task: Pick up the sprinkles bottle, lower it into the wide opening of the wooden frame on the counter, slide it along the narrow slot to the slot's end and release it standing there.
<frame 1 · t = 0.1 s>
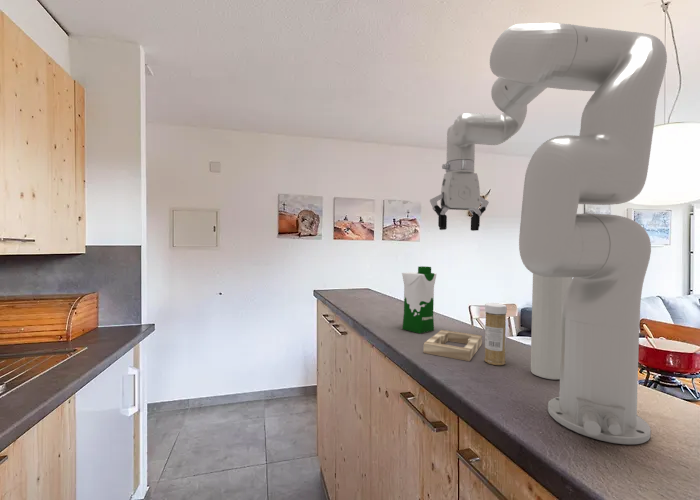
hand: (458, 230, 95), 31 cm above the countertop, tool pointing down, fingers open, 9 cm apart
sprinkles bottle: (494, 363, 78), on the countertop
wooden frame: (454, 348, 88), on the countertop
paper towel roll: (550, 376, 70), on the countertop
milk carton: (417, 330, 107), on the countertop
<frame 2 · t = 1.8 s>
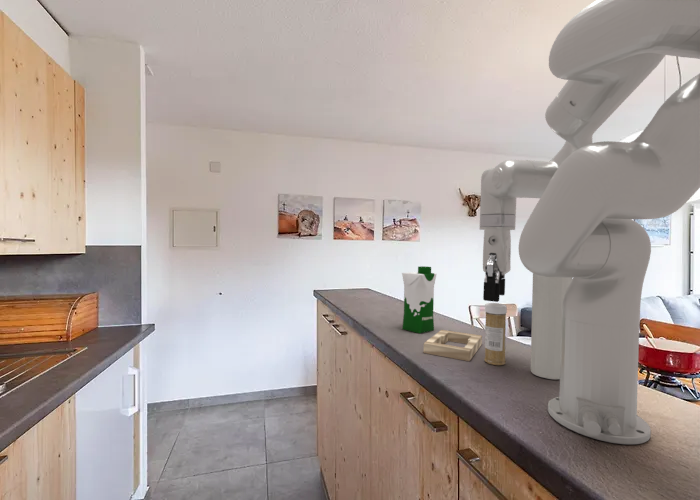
hand: (494, 297, 78), 15 cm above the countertop, tool pointing down, fingers open, 9 cm apart
nothing on the countertop moved.
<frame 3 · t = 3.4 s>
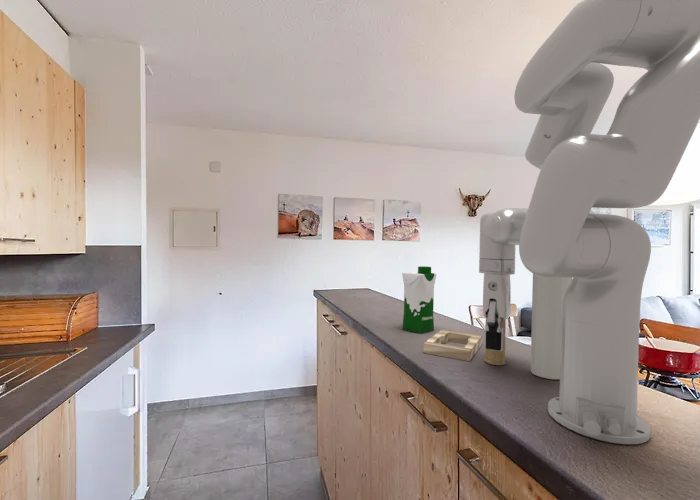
hand: (494, 345, 77), 4 cm above the countertop, tool pointing down, fingers closed on sprinkles bottle, 4 cm apart
sprinkles bottle: (494, 363, 78), on the countertop, touching gripper
everything else where it was.
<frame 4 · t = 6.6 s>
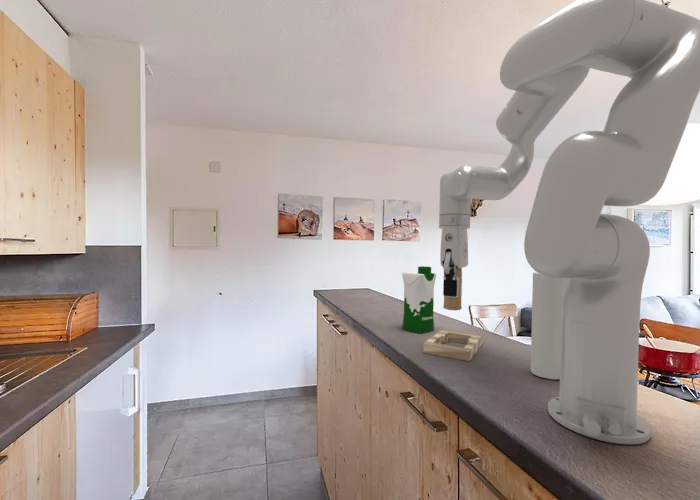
hand: (452, 293, 86), 14 cm above the countertop, tool pointing down, fingers closed on sprinkles bottle, 4 cm apart
sprinkles bottle: (452, 309, 86), point 10 cm above the countertop, touching gripper
everything else where it was.
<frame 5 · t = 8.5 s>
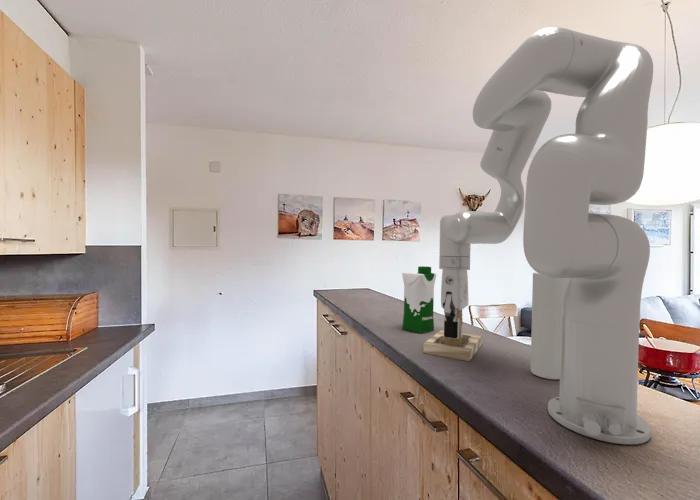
hand: (453, 334, 86), 4 cm above the countertop, tool pointing down, fingers closed on sprinkles bottle, 4 cm apart
sprinkles bottle: (452, 350, 86), resting in wooden frame, touching gripper
everything else where it was.
when the fingers open (4 cm above the countertop, at t = 9.7 s): sprinkles bottle stays where it is, resting in wooden frame.
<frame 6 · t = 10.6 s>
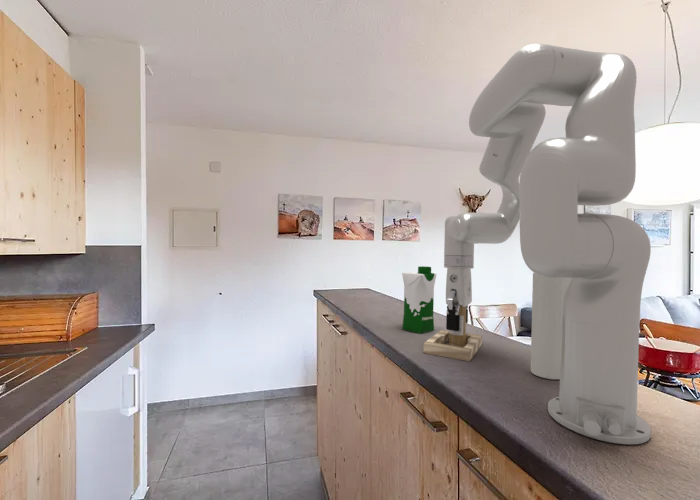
hand: (457, 326, 90), 5 cm above the countertop, tool pointing down, fingers open, 9 cm apart
sprinkles bottle: (457, 346, 90), resting in wooden frame
everything else where it was.
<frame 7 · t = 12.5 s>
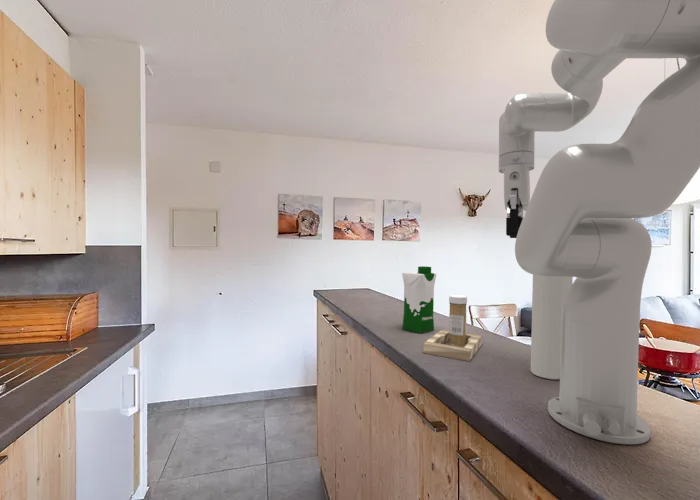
hand: (515, 236, 79), 29 cm above the countertop, tool pointing down, fingers open, 9 cm apart
nothing on the countertop moved.
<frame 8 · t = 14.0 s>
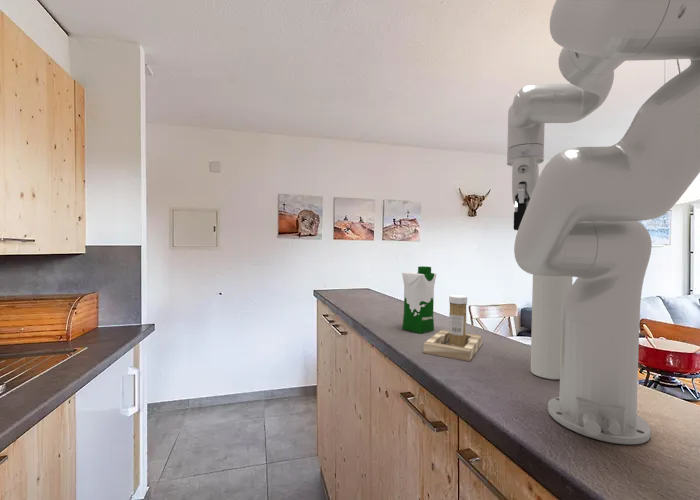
hand: (523, 230, 78), 30 cm above the countertop, tool pointing down, fingers open, 9 cm apart
nothing on the countertop moved.
at the end: sprinkles bottle 0.5 cm from the target spot on the wooden frame, point 0.0 cm above the wooden frame's base; sprinkles bottle tilted 0°; the gripper is holding nothing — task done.
